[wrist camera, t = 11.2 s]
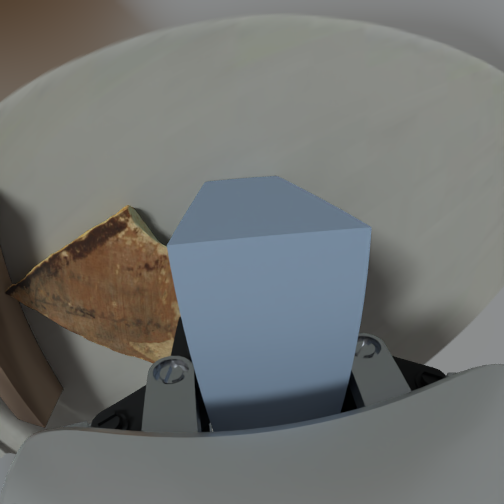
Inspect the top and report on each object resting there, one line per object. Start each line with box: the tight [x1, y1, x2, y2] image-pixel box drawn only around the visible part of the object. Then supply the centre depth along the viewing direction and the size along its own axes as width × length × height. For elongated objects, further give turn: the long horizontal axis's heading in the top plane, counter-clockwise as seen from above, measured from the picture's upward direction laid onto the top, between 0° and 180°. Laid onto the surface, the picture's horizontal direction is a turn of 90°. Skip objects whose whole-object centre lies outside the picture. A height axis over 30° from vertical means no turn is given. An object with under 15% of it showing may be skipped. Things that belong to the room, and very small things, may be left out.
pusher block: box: [167, 176, 371, 432], centre depth 9 cm, size 3×10×8 cm, turn 4°
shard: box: [5, 205, 181, 363], centre depth 12 cm, size 11×8×2 cm
